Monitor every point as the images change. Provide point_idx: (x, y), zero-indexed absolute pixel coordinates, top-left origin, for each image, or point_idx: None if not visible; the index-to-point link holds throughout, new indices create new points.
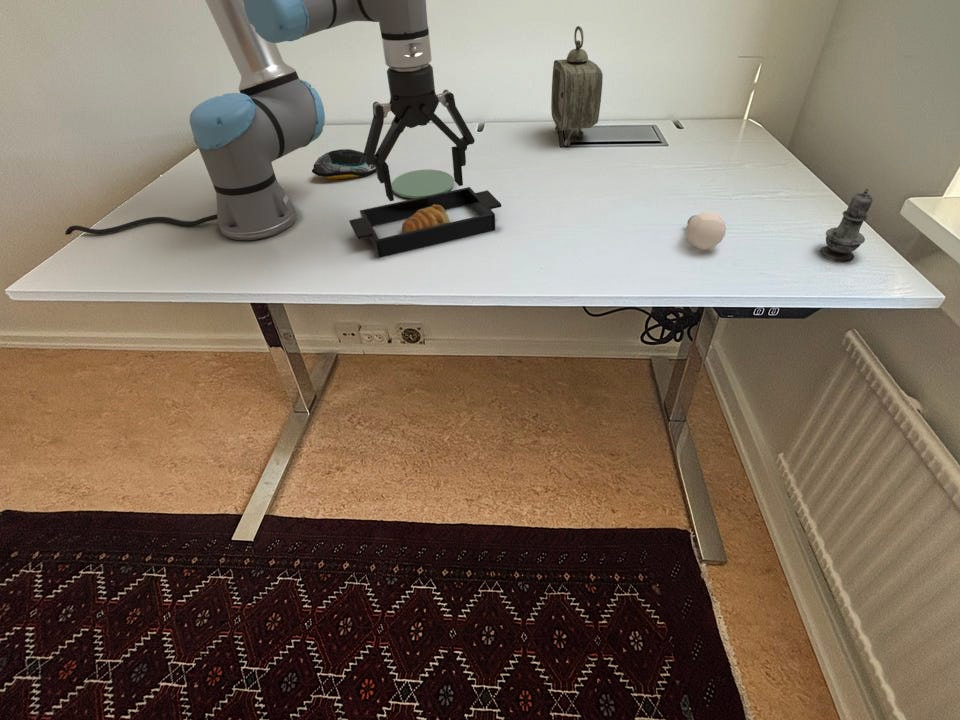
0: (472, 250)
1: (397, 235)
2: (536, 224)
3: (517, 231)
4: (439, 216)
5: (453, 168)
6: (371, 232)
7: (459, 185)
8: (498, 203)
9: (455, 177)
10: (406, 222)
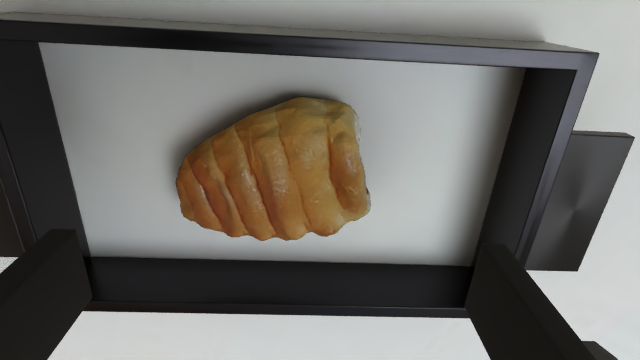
0: (359, 333)
1: (128, 308)
2: (601, 295)
3: None
4: (326, 234)
5: (517, 298)
6: (25, 250)
7: (467, 308)
8: (573, 263)
9: (488, 282)
10: (193, 187)
